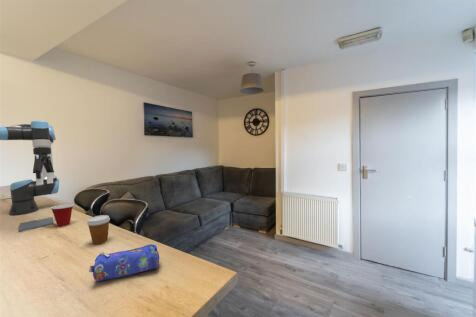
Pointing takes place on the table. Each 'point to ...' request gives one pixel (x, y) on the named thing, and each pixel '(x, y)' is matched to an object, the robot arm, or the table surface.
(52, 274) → the table surface
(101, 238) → the disposable coffee cup
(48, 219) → the slate tile
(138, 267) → the pencil case
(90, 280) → the table surface
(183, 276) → the table surface
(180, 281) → the table surface
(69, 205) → the plastic cup
